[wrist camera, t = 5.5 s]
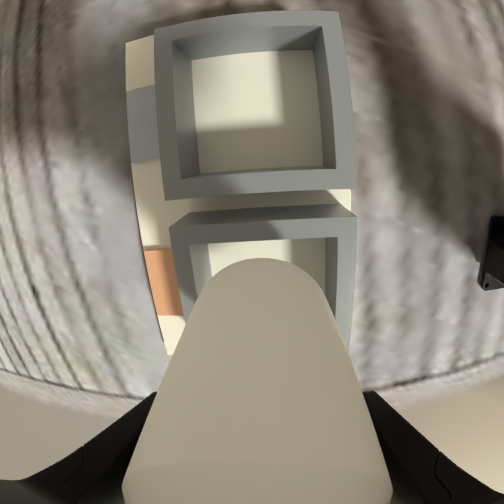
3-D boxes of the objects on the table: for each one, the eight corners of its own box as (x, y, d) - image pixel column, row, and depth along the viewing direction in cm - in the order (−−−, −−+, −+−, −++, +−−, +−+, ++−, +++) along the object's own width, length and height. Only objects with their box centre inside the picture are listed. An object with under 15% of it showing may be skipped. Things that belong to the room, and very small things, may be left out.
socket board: (331, 22, 15) (345, -12, 10) (341, 344, 23) (353, 385, 18) (131, 46, 16) (96, 25, 12) (171, 347, 24) (151, 386, 19)
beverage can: (193, 350, 15) (127, 568, 4) (205, 239, 13) (53, 508, 2) (307, 367, 15) (336, 585, 4) (340, 263, 13) (476, 519, 2)
